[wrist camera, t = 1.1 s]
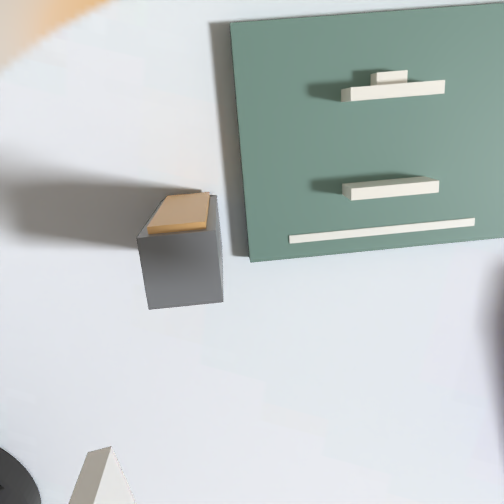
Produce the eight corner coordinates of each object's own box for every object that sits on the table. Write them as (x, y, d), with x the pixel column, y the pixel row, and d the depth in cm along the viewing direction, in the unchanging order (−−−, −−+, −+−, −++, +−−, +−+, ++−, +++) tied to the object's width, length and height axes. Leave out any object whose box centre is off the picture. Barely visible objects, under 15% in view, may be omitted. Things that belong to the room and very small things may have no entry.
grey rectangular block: (169, 252, 32) (148, 309, 23) (161, 195, 31) (135, 230, 21) (222, 247, 32) (223, 301, 23) (216, 190, 31) (214, 222, 22)
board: (249, 257, 33) (252, 272, 30) (229, 26, 28) (231, 14, 25) (500, 232, 34) (530, 245, 30) (524, 5, 29) (563, -10, 25)
